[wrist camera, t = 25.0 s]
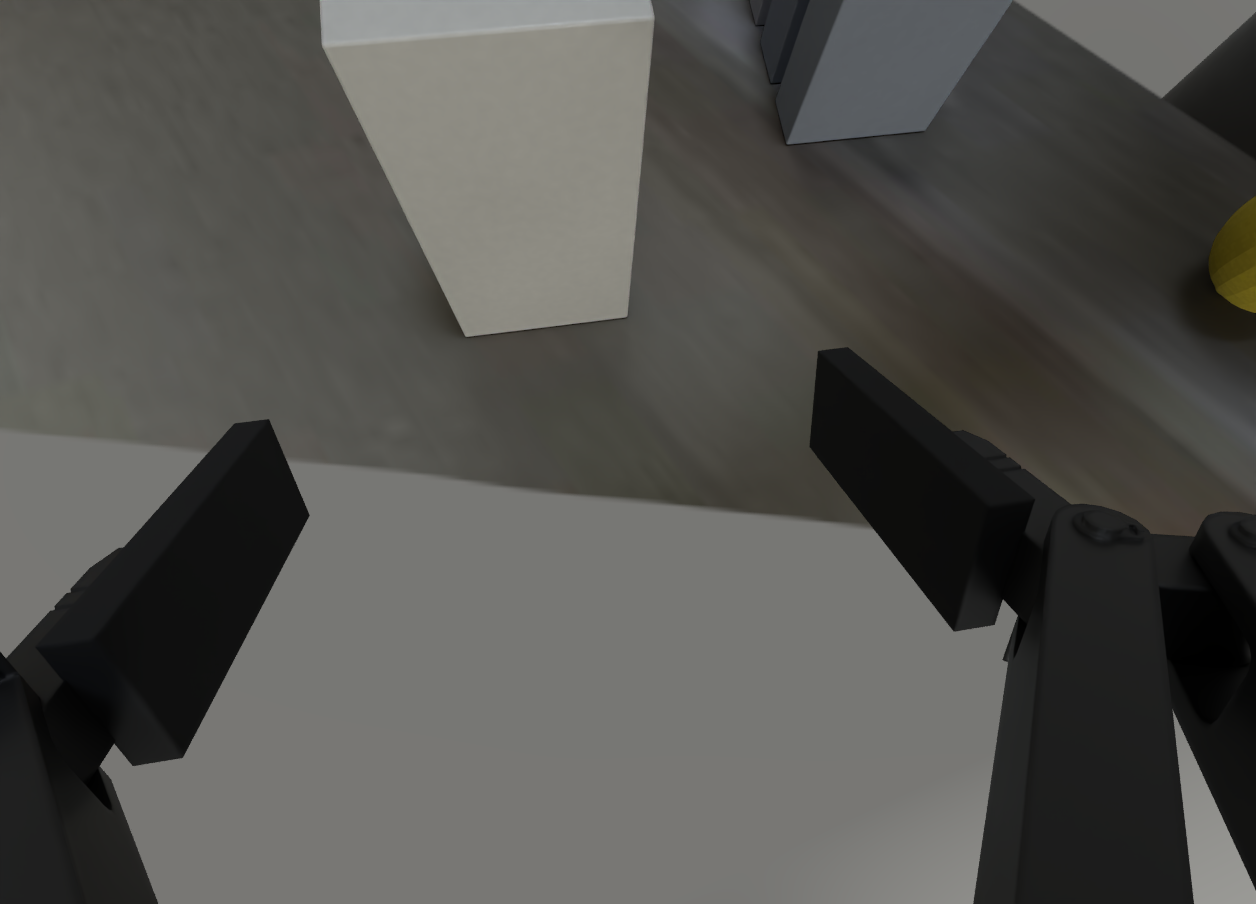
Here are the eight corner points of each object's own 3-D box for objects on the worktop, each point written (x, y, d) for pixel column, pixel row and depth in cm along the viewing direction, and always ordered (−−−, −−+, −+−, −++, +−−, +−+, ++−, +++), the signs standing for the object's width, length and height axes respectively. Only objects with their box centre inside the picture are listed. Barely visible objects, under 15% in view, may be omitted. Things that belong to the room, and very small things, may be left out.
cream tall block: (627, 317, 27) (656, 17, 13) (465, 338, 26) (320, 45, 13) (617, 257, 27) (633, -88, 14) (459, 275, 27) (314, -66, 13)
